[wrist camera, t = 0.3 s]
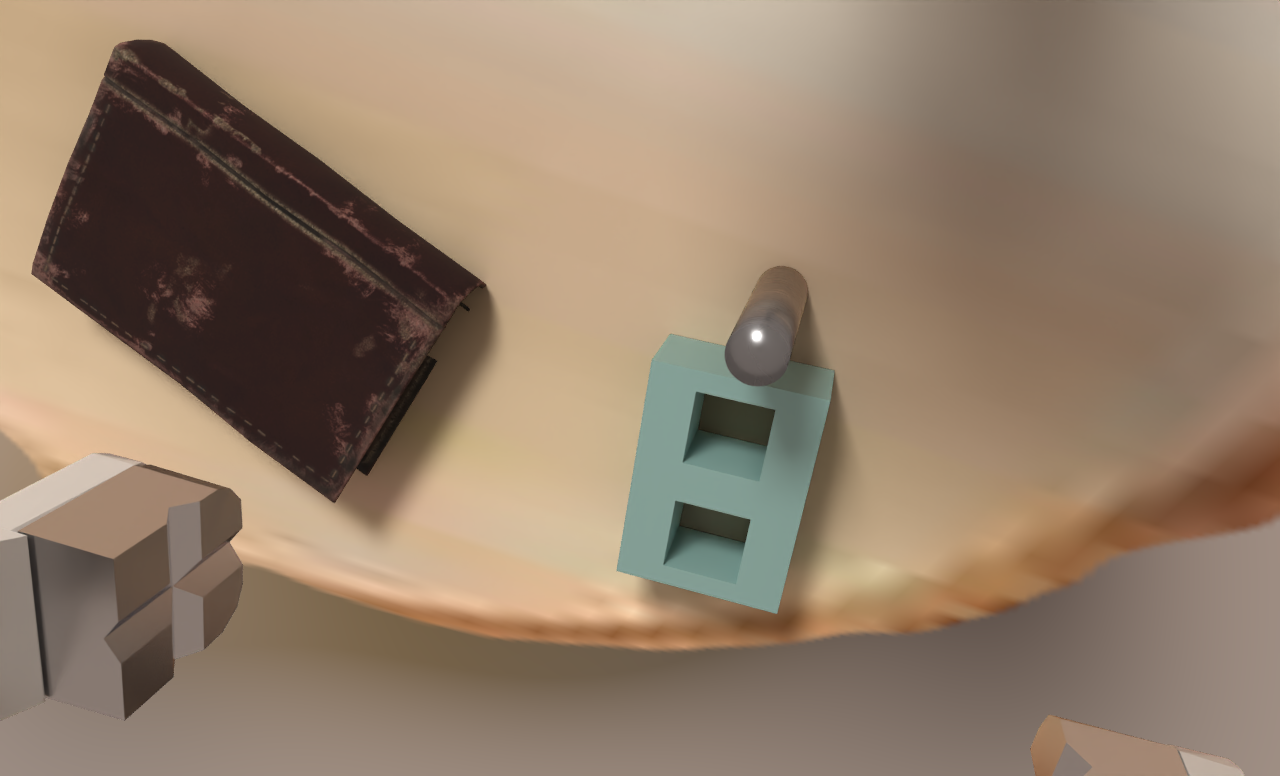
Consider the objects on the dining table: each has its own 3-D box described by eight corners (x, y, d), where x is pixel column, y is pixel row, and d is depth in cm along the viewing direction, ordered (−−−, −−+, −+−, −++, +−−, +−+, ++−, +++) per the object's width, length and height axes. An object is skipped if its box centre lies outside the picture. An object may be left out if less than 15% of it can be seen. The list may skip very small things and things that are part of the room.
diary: (173, 35, 59) (113, 34, 54) (495, 275, 59) (463, 294, 54) (79, 268, 66) (19, 285, 61) (365, 480, 66) (327, 512, 62)
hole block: (670, 333, 57) (651, 359, 52) (834, 370, 55) (830, 400, 51) (636, 531, 62) (616, 570, 58) (784, 570, 61) (777, 613, 56)
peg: (761, 261, 54) (730, 318, 43) (813, 271, 54) (795, 332, 43) (751, 310, 55) (719, 378, 44) (801, 321, 55) (781, 392, 44)
